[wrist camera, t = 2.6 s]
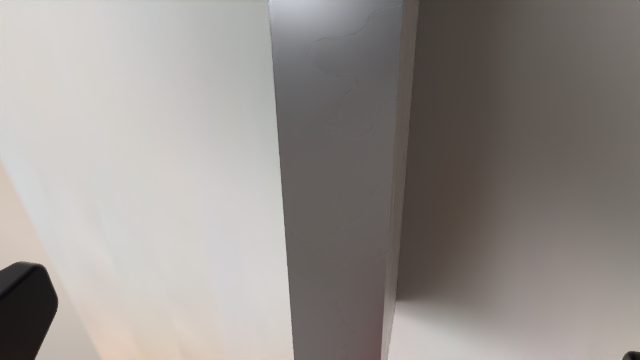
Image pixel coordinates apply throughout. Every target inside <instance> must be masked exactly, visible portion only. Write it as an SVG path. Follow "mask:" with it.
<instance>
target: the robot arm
mask: <svg viewBox="0 0 640 360" xmlns="http://www.w3.org/2000/svg"><path fill="white" fill-rule="evenodd" d="M57 308H58V297H57V294H56V292H55V289H54V287H53V284H52V282H51V279H50V277H49V274H48V272H47V270H46V268H45V267H44V266H43V265H41V264H37V263H29V262H16V263H14V264H12V265H10V266H8V267H6V268H5V269H3V270H1V271H0V360H35V358H36V355H37V354H38V351H39V349H40V347H41V345H42V343H43V340H44V338H45V336H46V334H47V332H48V330H49V327H50V325H51V323H52V321H53V319H54V317H55V314H56V312H57ZM622 360H640V352H636V351H629V352H627V353H626V354H625V355H624V357H623V359H622Z"/></svg>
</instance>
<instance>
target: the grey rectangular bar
mask: <svg viewBox="0 0 640 360" xmlns="http://www.w3.org/2000/svg"><path fill="white" fill-rule="evenodd" d="M268 3H269V17H270V31H271V45H272V59H273V72H274V86H275V100H276V114H277V128H278V142H279V155H280V169H281V183H282V197H283V211H284V225H285V239H286V252H287V266H288V280H289V294H290V308H291V322H292V335H293V349H294V360H387V359H388V352H389V345H390V338H391V331H392V324H393V317H394V310H395V303H396V292H397V279H398V267H399V254H400V241H401V228H402V215H403V202H404V189H405V177H406V164H407V151H408V138H409V125H410V112H411V99H412V86H413V74H414V61H415V48H416V35H417V22H418V9H419V0H268Z"/></svg>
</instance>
